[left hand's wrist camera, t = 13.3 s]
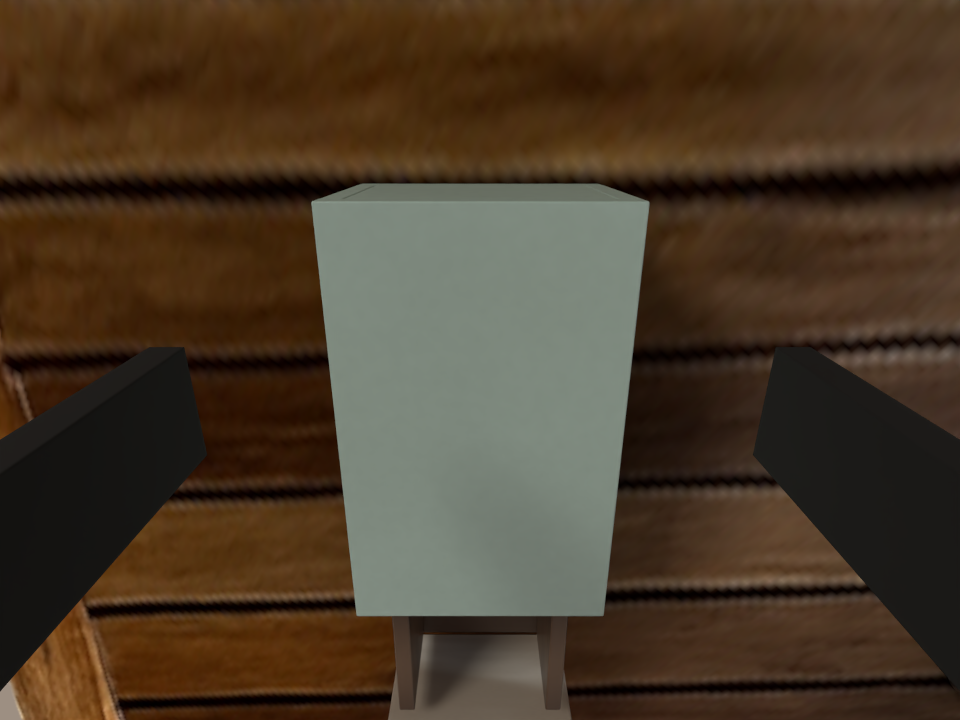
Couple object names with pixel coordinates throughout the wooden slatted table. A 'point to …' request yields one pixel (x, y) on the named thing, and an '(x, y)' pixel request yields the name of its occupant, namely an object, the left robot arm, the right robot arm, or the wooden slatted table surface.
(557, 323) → the cabinet
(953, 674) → the left robot arm
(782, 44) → the wooden slatted table surface
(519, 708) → the drawer
